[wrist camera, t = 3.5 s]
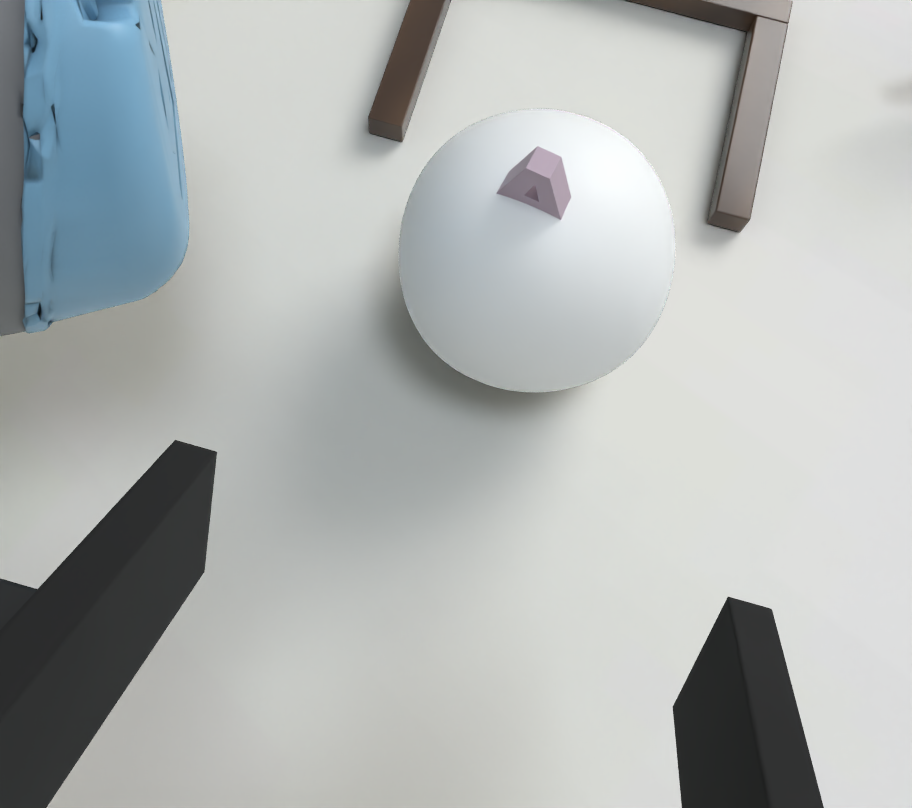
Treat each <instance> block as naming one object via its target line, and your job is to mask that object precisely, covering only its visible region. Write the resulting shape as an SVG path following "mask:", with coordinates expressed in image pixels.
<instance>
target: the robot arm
mask: <svg viewBox="0 0 912 808" xmlns="http://www.w3.org/2000/svg"><path fill="white" fill-rule="evenodd" d="M188 240H189V213H188V196H187V184H186V174H185V165H184V156H183V147H182V139H181V131H180V124H179V116H178V109H177V101H176V94H175V87H174V80H173V74H172V67H171V60H170V53H169V47H168V41H167V35H166V29H165V23H164V17H163V10H162V4H161V0H0V336H2V335H8V334H14V333H20V332H27V333H34V332H39V331H45V330H46V329H47V328H49V327H50V325H51V324H52V322H55V321H59V320H63V319H67V318H71V317H75V316H79V315H82V314H86V313H90V312H94V311H98V310H102V309H106V308H110V307H114V306H118V305H122V304H126V303H130V302H134V301H138V300H141V299H144V298H145V297H147V296H149V295H150V294H152V293H154V292H156V291H157V289H158V288H160V287H161V286H163V285H164V284H165V283H166V282H167V281H169V280H170V278H171V277H172V276H173V275H174V273H175V272H176V270H177V269H178V268H179V267H180V265H181V264H182V261H183V259H184V256H185V253H186V250H187V246H188ZM216 456H217V452H216V451H212V450H209V449H205V448H201V447H198V446H194V445H191V444H187V443H184V442H180V441H177V440H175V441H174V442H173V443H172V444H171V445H170V446H169V447H168V448H167V449H166V451H165V452H164V453H163V454H162V455H161V456H160V457H159V458H158V459H157V460H156V461H155V463H154V464H153V465H152V466H151V467H150V468H149V469H148V470H147V471H146V472H145V473H144V474H143V476H142V477H141V478H140V479H139V480H138V481H137V482H136V483H135V484H134V485H133V486H132V487H131V489H130V490H129V491H128V492H127V493H126V494H125V495H124V496H123V497H122V498H121V499H120V501H119V502H118V503H117V504H116V505H115V506H114V507H113V508H112V509H111V510H110V511H109V512H108V514H107V515H106V516H105V517H104V518H103V519H102V520H101V521H100V522H99V523H98V524H97V525H96V527H95V528H94V529H93V530H92V531H91V532H90V533H89V534H88V535H87V536H86V537H85V539H84V540H83V541H82V542H81V543H80V544H79V545H78V546H77V547H76V548H75V549H74V550H73V552H72V553H71V554H70V555H69V556H68V557H67V558H66V559H65V560H64V561H63V562H62V564H61V565H60V566H59V567H58V568H57V569H56V570H55V571H54V572H53V573H52V574H51V575H50V577H49V578H48V579H47V580H46V581H45V582H44V583H43V584H42V585H41V586H40V587H39V588H38V589H34V588H31V587H27V586H24V585H21V584H17V583H14V582H10V581H7V580H3V579H0V808H46V807H47V806H48V804H49V803H50V801H51V800H52V798H53V797H54V795H55V794H56V792H57V791H58V789H59V788H60V786H61V785H62V783H63V782H64V780H65V779H66V777H67V776H68V774H69V773H70V771H71V770H72V768H73V767H74V766H75V764H76V763H77V761H78V760H79V758H80V757H81V755H82V754H83V752H84V751H85V749H86V748H87V746H88V745H89V743H90V742H91V740H92V739H93V737H94V736H95V734H96V733H97V731H98V730H99V728H100V727H101V725H102V724H103V722H104V721H105V719H106V718H107V716H108V715H109V713H110V712H111V710H112V709H113V707H114V706H115V704H116V703H117V701H118V700H119V698H120V697H121V695H122V694H123V692H124V691H125V689H126V688H127V686H128V685H129V683H130V682H131V680H132V679H133V677H134V676H135V674H136V673H137V671H138V670H139V668H140V667H141V665H142V664H143V662H144V661H145V659H146V658H147V657H148V655H149V654H150V652H151V651H152V649H153V648H154V646H155V645H156V643H157V642H158V640H159V639H160V637H161V636H162V634H163V633H164V631H165V630H166V628H167V627H168V625H169V624H170V622H171V621H172V619H173V618H174V616H175V615H176V613H177V612H178V610H179V609H180V607H181V606H182V604H183V603H184V601H185V600H186V598H187V597H188V595H189V594H190V592H191V591H192V589H193V588H194V586H195V585H196V583H197V582H198V580H199V579H200V577H201V576H202V574H203V573H204V570H205V560H206V551H207V541H208V532H209V522H210V513H211V503H212V494H213V484H214V475H215V466H216ZM673 715H674V725H675V736H676V747H677V758H678V769H679V780H680V791H681V802H682V808H824V807H823V803H822V800H821V796H820V792H819V788H818V784H817V780H816V777H815V773H814V769H813V765H812V761H811V757H810V754H809V750H808V746H807V742H806V738H805V734H804V731H803V727H802V723H801V719H800V715H799V711H798V708H797V704H796V700H795V696H794V692H793V689H792V685H791V681H790V677H789V673H788V669H787V666H786V662H785V658H784V654H783V650H782V646H781V643H780V639H779V635H778V631H777V627H776V623H775V620H774V616H773V612H772V609H770V608H766V607H763V606H759V605H756V604H752V603H749V602H745V601H741V600H738V599H734V598H731V597H728V598H727V600H726V602H725V604H724V606H723V608H722V610H721V612H720V614H719V616H718V618H717V620H716V622H715V624H714V626H713V628H712V630H711V632H710V634H709V636H708V638H707V640H706V642H705V644H704V646H703V648H702V650H701V652H700V654H699V656H698V658H697V660H696V662H695V664H694V666H693V668H692V670H691V672H690V674H689V676H688V678H687V680H686V682H685V684H684V686H683V688H682V690H681V692H680V694H679V696H678V698H677V699H676V701H675V703H674V705H673Z"/></svg>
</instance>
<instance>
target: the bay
mask: <svg viewBox="0 0 912 808" xmlns="http://www.w3.org/2000/svg"><path fill="white" fill-rule="evenodd" d="M628 1H631V2H635V3H639V4H643V5H647V6H651V7H654V8H658V9H662V10H666V11H670V12H674V13H677V14H681V15H685V16H689V17H693V18H697V19H701V20H704V21H708V22H712V23H716V24H720V25H724V26H727V27H731V28H735V29H739V30H743V31H747V36H746V41H745V46H744V50H743V55H742V60H741V65H740V69H739V74H738V79H737V84H736V88H735V93H734V98H733V103H732V107H731V112H730V117H729V121H728V126H727V131H726V136H725V140H724V145H723V150H722V155H721V159H720V164H719V169H718V174H717V178H716V183H715V188H714V193H713V197H712V202H711V207H710V211H709V216H708V221H707V222H708V224H711V225H715V226H719V227H723V228H726V229H730V230H734V231H738V232H741V231H742V229H743V228H744V227H745V225H746V224H747V223H748V222H749V220H750V218H751V212H752V207H753V202H754V197H755V192H756V187H757V182H758V176H759V171H760V166H761V161H762V156H763V151H764V145H765V140H766V135H767V130H768V125H769V120H770V115H771V109H772V104H773V99H774V94H775V89H776V84H777V79H778V73H779V68H780V63H781V58H782V53H783V48H784V43H785V37H786V32H787V27H788V23H789V18H790V12H791V7H792V0H628ZM450 2H451V0H410V3H409V6H408V8H407V11H406V14H405V17H404V20H403V22H402V25H401V28H400V31H399V33H398V36H397V39H396V42H395V45H394V47H393V50H392V53H391V56H390V58H389V61H388V64H387V67H386V70H385V72H384V75H383V78H382V81H381V83H380V86H379V89H378V92H377V95H376V97H375V100H374V103H373V106H372V108H371V111H370V114H369V117H368V120H369V132H370V133H371V134H375V135H379V136H382V137H386V138H390V139H393V140H397V141H401V142H402V141H403V139H404V136H405V133H406V130H407V127H408V124H409V121H410V119H411V116H412V113H413V110H414V107H415V104H416V101H417V98H418V95H419V92H420V89H421V86H422V83H423V81H424V78H425V75H426V72H427V69H428V66H429V63H430V60H431V57H432V54H433V51H434V48H435V46H436V43H437V40H438V37H439V34H440V31H441V28H442V25H443V22H444V19H445V16H446V13H447V11H448V8H449V5H450Z"/></svg>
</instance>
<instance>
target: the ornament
mask: <svg viewBox="0 0 912 808" xmlns="http://www.w3.org/2000/svg"><path fill="white" fill-rule="evenodd" d="M675 253H676V240H675V228H674V221H673V215H672V211H671V207H670V203H669V200H668V197H667V194H666V192H665V189H664V187H663V185H662V183H661V181H660V179H659V177H658V175H657V173H656V171H655V170H654V168H653V167H652V165H651V164H650V162H649V161H648V160H647V158H646V157H645V156H644V155H643V153H642V152H641V151H640V150H639V149H638V148H637V147H636V146H635V145H634V144H633V143H632V142H630V141H629V140H628V139H627V138H625V137H624V136H623V135H621V134H620V133H618V132H617V131H615V130H614V129H612V128H610V127H608V126H607V125H605V124H603V123H601V122H598V121H596V120H594V119H591V118H589V117H586V116H583V115H580V114H576V113H572V112H568V111H562V110H555V109H523V110H516V111H510V112H506V113H502V114H498V115H495V116H491V117H489V118H486V119H483V120H481V121H479V122H476V123H474V124H472V125H470V126H469V127H467V128H465V129H464V130H462V131H460V132H459V133H457V134H456V135H455V136H453V137H452V138H451V139H450V140H448V141H447V142H446V143H445V144H444V145H443V146H442V147H441V148H440V149H439V150H438V151H437V152H436V153H435V154H434V155H433V157H432V158H431V159H430V160H429V162H428V163H427V164H426V166H425V167H424V169H423V170H422V172H421V174H420V175H419V177H418V179H417V181H416V183H415V185H414V187H413V189H412V191H411V194H410V196H409V199H408V202H407V205H406V208H405V211H404V215H403V219H402V224H401V230H400V238H399V274H400V281H401V287H402V292H403V296H404V300H405V303H406V306H407V309H408V311H409V314H410V316H411V319H412V321H413V323H414V325H415V327H416V328H417V330H418V332H419V333H420V335H421V336H422V338H423V339H424V341H425V342H426V343H427V345H428V346H429V347H430V348H431V349H432V350H433V351H434V352H435V353H436V354H437V355H438V356H439V357H440V358H441V359H442V360H443V361H444V362H446V363H447V364H448V365H450V366H451V367H452V368H454V369H455V370H457V371H459V372H460V373H462V374H464V375H466V376H468V377H470V378H472V379H474V380H476V381H479V382H481V383H484V384H487V385H490V386H493V387H497V388H501V389H505V390H511V391H519V392H551V391H559V390H564V389H569V388H573V387H577V386H580V385H583V384H586V383H589V382H592V381H594V380H596V379H599V378H601V377H603V376H605V375H606V374H608V373H610V372H612V371H613V370H615V369H616V368H618V367H619V366H621V365H622V364H623V363H624V362H626V361H627V360H628V359H629V358H630V357H631V356H632V355H633V354H634V353H635V352H636V351H637V350H638V349H639V348H640V347H641V346H642V345H643V343H644V342H645V341H646V339H647V338H648V337H649V335H650V334H651V332H652V330H653V329H654V327H655V325H656V323H657V322H658V320H659V318H660V315H661V313H662V311H663V309H664V306H665V303H666V301H667V298H668V294H669V291H670V287H671V283H672V278H673V273H674V265H675Z"/></svg>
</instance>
